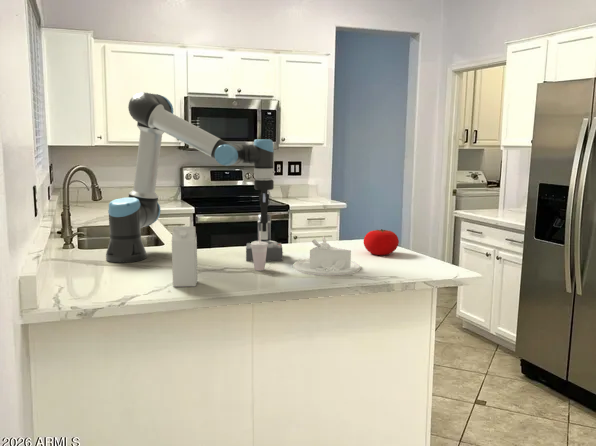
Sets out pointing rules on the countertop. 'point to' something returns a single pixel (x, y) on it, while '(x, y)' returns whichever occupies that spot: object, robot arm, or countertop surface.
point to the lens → (268, 226)
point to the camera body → (272, 251)
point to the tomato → (381, 242)
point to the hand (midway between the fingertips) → (264, 238)
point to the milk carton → (184, 256)
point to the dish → (327, 261)
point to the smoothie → (259, 254)
